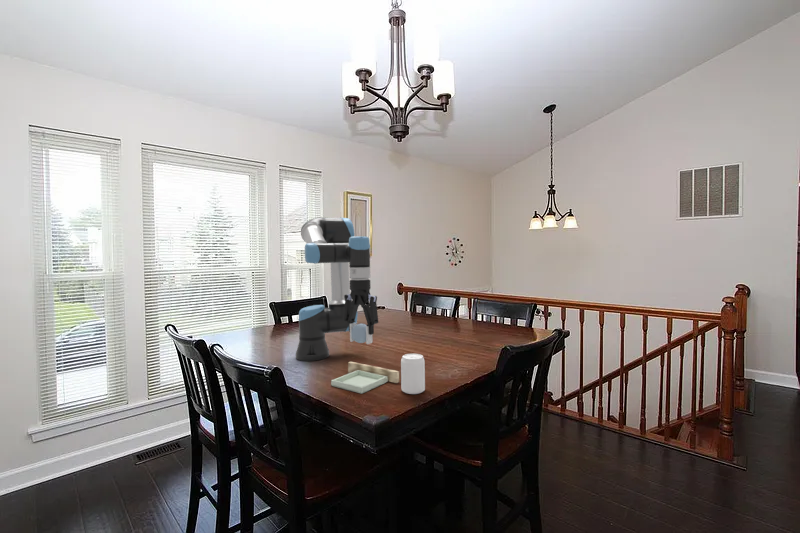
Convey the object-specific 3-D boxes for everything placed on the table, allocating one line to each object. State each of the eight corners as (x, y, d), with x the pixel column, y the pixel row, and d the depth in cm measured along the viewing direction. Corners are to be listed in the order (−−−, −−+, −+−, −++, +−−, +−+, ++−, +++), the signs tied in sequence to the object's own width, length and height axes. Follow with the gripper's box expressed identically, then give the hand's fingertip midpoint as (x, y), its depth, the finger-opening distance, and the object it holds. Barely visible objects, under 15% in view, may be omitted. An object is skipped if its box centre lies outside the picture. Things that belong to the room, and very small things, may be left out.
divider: (348, 372, 155) (348, 362, 155) (350, 371, 156) (350, 361, 156) (396, 383, 141) (396, 372, 141) (399, 382, 142) (399, 371, 142)
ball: (347, 343, 140) (347, 324, 140) (360, 339, 146) (359, 321, 146) (362, 345, 136) (362, 326, 136) (374, 341, 142) (374, 323, 142)
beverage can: (400, 387, 137) (399, 353, 136) (423, 386, 137) (422, 352, 137) (402, 395, 128) (402, 360, 128) (426, 394, 129) (426, 359, 129)
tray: (331, 385, 139) (331, 380, 139) (358, 375, 151) (358, 369, 151) (361, 393, 131) (361, 388, 131) (387, 381, 143) (387, 376, 142)
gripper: (332, 279, 143) (334, 340, 143) (375, 280, 131) (376, 347, 132) (346, 277, 149) (347, 337, 150) (388, 279, 138) (389, 343, 138)
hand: (361, 341), depth 141 cm, fingers closed on ball, 7 cm apart
